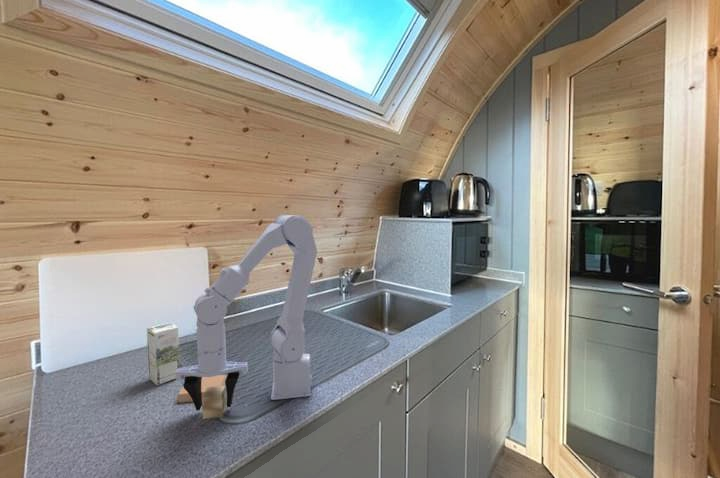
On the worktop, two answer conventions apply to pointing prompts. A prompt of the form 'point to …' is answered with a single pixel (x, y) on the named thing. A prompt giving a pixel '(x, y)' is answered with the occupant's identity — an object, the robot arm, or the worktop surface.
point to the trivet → (202, 387)
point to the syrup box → (163, 353)
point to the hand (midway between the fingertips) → (214, 406)
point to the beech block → (214, 402)
